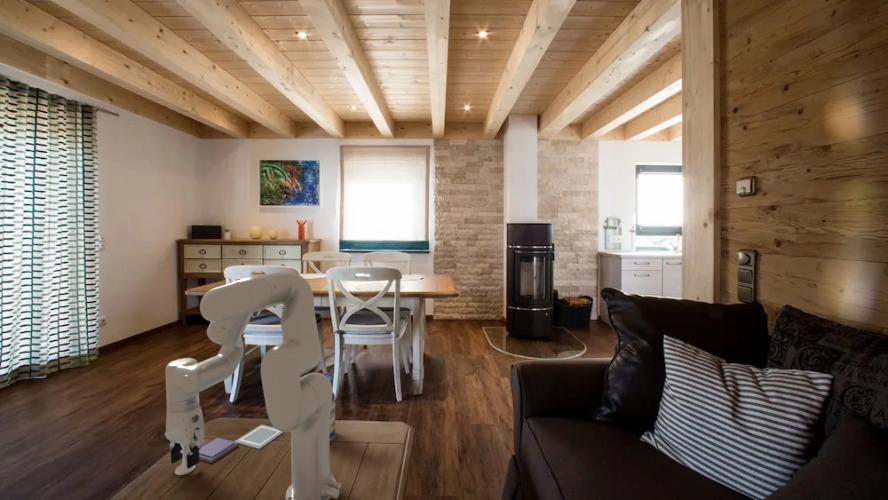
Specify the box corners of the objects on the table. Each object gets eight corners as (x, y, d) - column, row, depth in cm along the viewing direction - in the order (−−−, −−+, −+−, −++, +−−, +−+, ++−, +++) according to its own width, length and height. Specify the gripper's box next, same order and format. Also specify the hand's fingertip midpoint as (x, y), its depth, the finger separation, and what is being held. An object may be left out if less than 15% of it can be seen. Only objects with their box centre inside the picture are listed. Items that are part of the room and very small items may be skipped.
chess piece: (184, 476, 100) (183, 442, 99) (170, 473, 101) (169, 439, 100) (200, 465, 105) (199, 432, 104) (186, 462, 106) (185, 430, 105)
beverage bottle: (321, 428, 124) (320, 372, 123) (341, 432, 121) (340, 376, 120) (303, 441, 116) (302, 382, 115) (324, 446, 113) (324, 386, 113)
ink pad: (238, 446, 114) (237, 441, 114) (211, 463, 105) (211, 458, 105) (218, 440, 117) (217, 436, 117) (190, 456, 108) (190, 452, 108)
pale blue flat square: (285, 431, 122) (285, 430, 122) (259, 449, 112) (259, 448, 112) (261, 425, 126) (261, 424, 126) (234, 442, 116) (234, 441, 116)
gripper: (216, 401, 102) (218, 461, 103) (176, 392, 108) (178, 449, 109) (190, 414, 95) (193, 478, 96) (149, 403, 101) (151, 464, 102)
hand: (185, 462), depth 103 cm, fingers open, 5 cm apart
